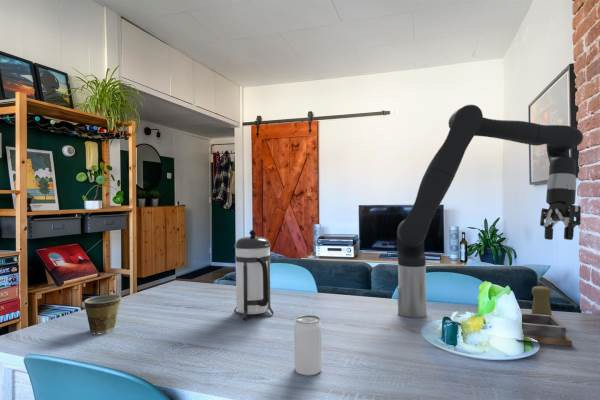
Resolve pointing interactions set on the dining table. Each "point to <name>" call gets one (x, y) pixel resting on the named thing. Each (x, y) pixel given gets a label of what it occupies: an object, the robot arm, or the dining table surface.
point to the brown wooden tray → (545, 329)
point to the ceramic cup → (102, 312)
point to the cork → (541, 300)
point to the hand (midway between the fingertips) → (558, 239)
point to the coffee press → (252, 275)
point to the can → (308, 345)
